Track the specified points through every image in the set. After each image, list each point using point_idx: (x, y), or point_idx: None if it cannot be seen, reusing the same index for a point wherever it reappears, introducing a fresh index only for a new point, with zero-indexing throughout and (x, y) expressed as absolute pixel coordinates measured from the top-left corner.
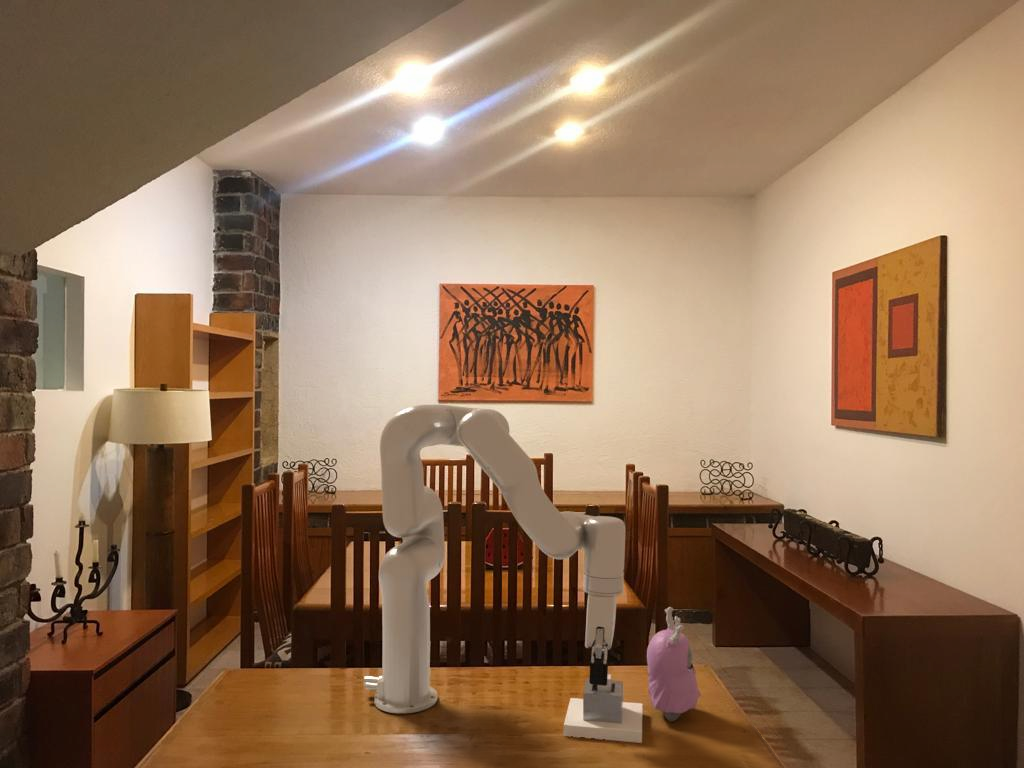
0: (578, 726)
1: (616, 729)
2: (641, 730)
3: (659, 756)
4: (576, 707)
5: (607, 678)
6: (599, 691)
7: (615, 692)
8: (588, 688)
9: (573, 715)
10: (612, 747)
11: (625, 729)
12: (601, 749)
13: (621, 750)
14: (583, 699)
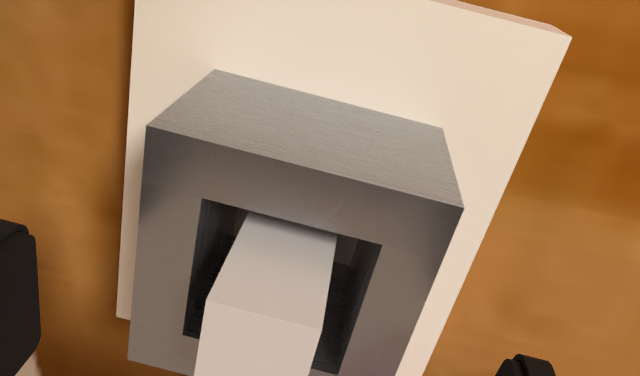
0: (134, 25)
1: (123, 220)
2: (127, 318)
3: (42, 313)
4: (404, 55)
5: (208, 368)
6: (190, 250)
7: (183, 341)
8: (247, 184)
9: (282, 16)
10: (81, 164)
11: (128, 259)
12: (53, 111)
13: (61, 194)
14: (165, 110)
